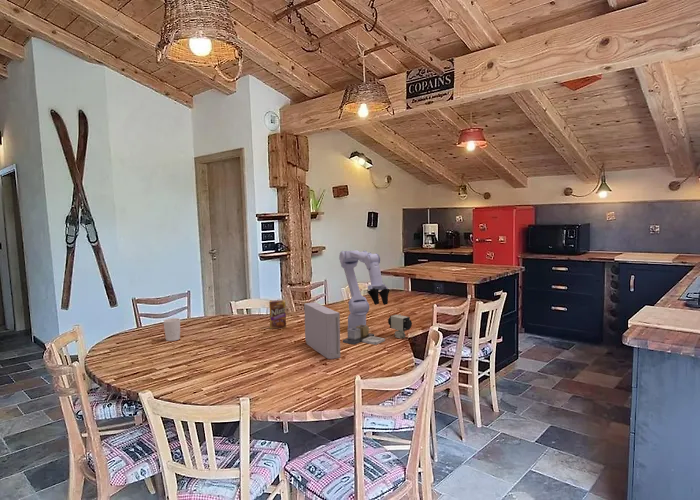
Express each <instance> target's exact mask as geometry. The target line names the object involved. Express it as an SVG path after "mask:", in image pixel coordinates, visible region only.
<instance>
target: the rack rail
mask: <svg viewBox="0 0 700 500" xmlns="http://www.w3.org/2000/svg"><path fill="white" fill-rule="evenodd" d="M370 336H374V337H375V334H374V333H369V336H367V337H370ZM367 337H364V338H362V337H361V339H359V340H357V341H352V340H348V337H347V338H345V339H342V343H344V344H347V345H348V344H349V345H353V346H356V345H358V344H360V343H363V342H362V340H363V339H365V338H367Z"/></svg>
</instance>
